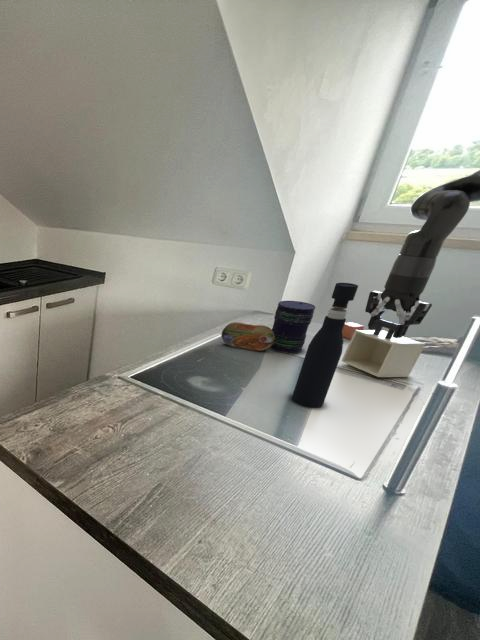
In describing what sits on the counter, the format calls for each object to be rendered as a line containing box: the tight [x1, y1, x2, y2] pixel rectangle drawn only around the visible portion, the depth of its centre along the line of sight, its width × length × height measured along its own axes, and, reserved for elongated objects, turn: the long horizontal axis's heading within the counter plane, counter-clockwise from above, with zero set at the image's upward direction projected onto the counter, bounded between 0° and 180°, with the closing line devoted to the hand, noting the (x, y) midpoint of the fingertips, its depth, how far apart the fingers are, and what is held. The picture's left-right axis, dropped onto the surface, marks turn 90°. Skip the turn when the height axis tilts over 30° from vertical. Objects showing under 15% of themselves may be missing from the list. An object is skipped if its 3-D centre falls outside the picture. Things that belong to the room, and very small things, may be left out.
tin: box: [221, 321, 275, 352], centre depth 129 cm, size 15×3×8 cm, turn 55°
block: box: [342, 321, 365, 340], centre depth 137 cm, size 4×4×4 cm
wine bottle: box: [291, 282, 359, 409], centre depth 92 cm, size 6×6×30 cm
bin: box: [341, 318, 426, 378], centre depth 110 cm, size 14×11×10 cm
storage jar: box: [269, 300, 316, 354], centre depth 127 cm, size 10×10×15 cm
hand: (384, 333), depth 108 cm, fingers closed on bin, 6 cm apart
